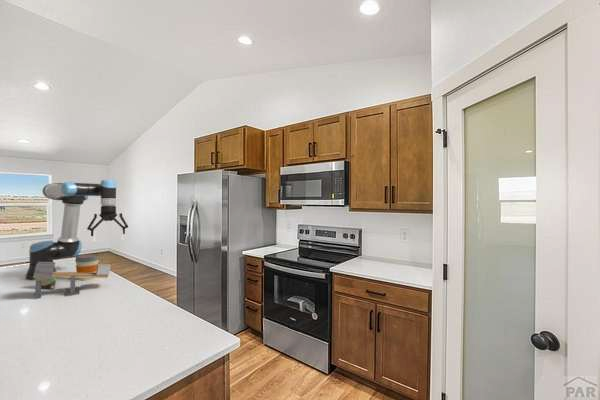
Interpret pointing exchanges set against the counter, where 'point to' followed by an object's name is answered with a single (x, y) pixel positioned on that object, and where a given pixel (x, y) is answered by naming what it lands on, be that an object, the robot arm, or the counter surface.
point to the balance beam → (47, 272)
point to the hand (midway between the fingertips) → (108, 240)
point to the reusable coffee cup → (87, 264)
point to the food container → (47, 282)
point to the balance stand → (69, 291)
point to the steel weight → (103, 269)
